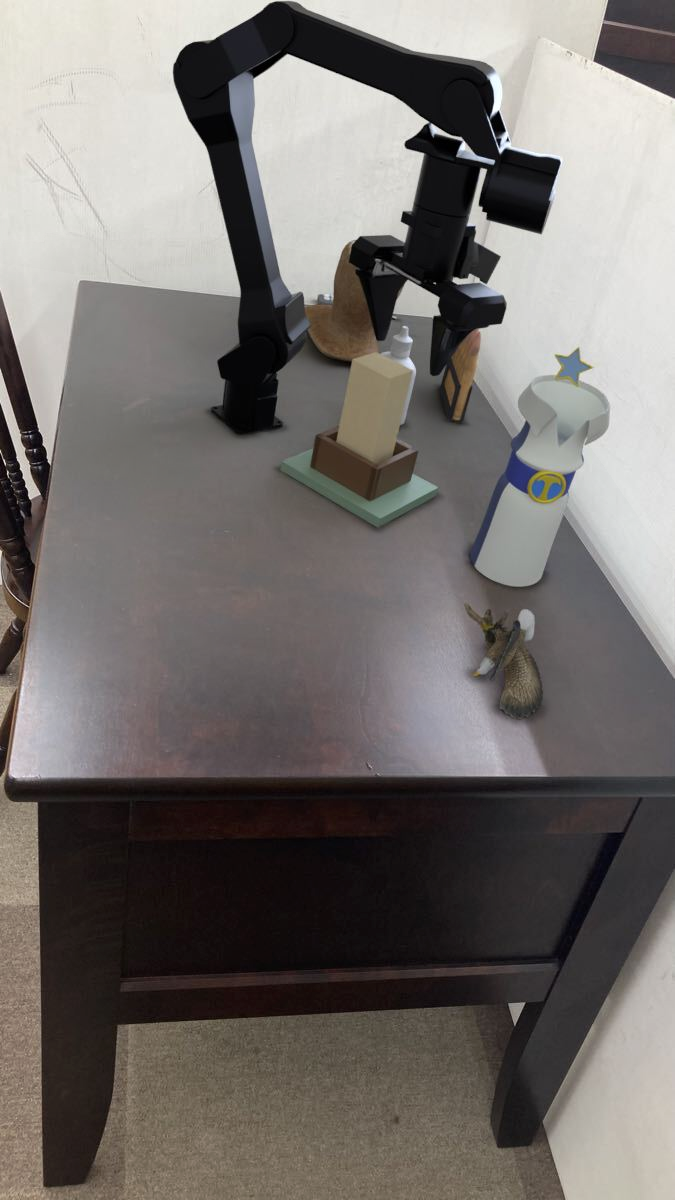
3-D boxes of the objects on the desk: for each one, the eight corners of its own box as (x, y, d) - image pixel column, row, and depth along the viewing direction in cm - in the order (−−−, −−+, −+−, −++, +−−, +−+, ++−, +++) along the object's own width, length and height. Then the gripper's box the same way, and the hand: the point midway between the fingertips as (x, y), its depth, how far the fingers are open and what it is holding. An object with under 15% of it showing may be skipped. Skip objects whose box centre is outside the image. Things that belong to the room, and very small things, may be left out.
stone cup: (396, 372, 127) (421, 267, 118) (315, 365, 124) (334, 256, 115) (372, 330, 138) (393, 231, 129) (297, 323, 135) (313, 220, 126)
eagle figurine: (433, 636, 79) (469, 693, 71) (488, 576, 77) (532, 628, 69) (490, 675, 82) (530, 734, 74) (544, 619, 80) (590, 673, 73)
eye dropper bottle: (372, 425, 112) (392, 334, 105) (365, 405, 116) (384, 316, 109) (405, 429, 113) (427, 338, 106) (397, 409, 117) (418, 320, 110)
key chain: (317, 308, 142) (319, 299, 141) (316, 300, 145) (317, 291, 144) (396, 320, 144) (398, 311, 143) (394, 311, 147) (396, 303, 146)
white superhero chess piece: (555, 595, 89) (652, 363, 74) (472, 582, 88) (553, 345, 73) (542, 547, 96) (630, 324, 80) (465, 535, 95) (538, 307, 79)
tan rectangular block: (330, 469, 99) (352, 358, 91) (353, 460, 102) (376, 351, 94) (364, 489, 97) (390, 378, 89) (387, 479, 99) (413, 370, 92)
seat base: (279, 470, 99) (286, 428, 96) (341, 444, 107) (349, 404, 104) (377, 528, 93) (388, 485, 90) (435, 496, 101) (447, 456, 98)
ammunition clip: (462, 423, 117) (487, 336, 110) (449, 421, 117) (473, 333, 110) (452, 389, 126) (475, 306, 119) (439, 387, 126) (461, 303, 118)
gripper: (564, 237, 87) (516, 385, 97) (437, 180, 98) (406, 318, 107) (485, 241, 81) (443, 398, 90) (360, 179, 92) (333, 326, 101)
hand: (406, 357), depth 97 cm, fingers open, 9 cm apart
